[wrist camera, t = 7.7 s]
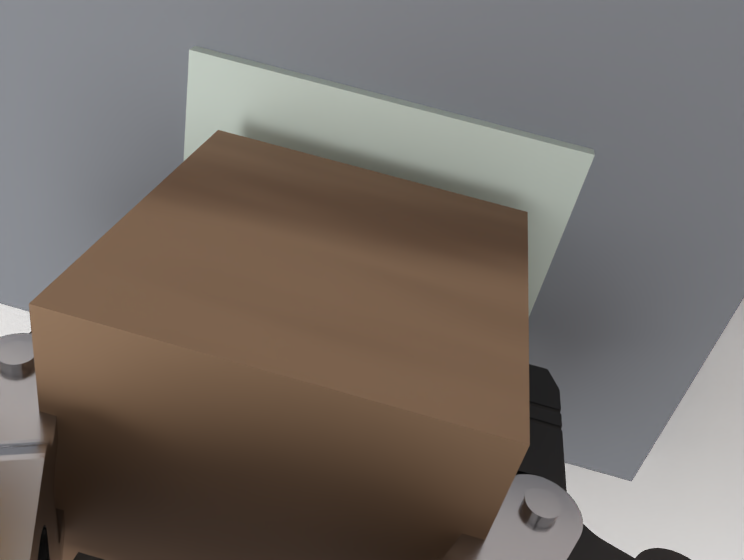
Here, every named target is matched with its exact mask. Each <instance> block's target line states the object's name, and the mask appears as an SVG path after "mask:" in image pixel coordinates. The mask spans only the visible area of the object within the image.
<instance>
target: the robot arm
mask: <svg viewBox="0 0 744 560" xmlns="http://www.w3.org/2000/svg"><path fill="white" fill-rule="evenodd" d="M560 411H561V402H560V389H559V388H558V386H557V384H556V382H555V381H554V379H553V377H552V375H551V374H550V372H549V370H548V369H545V368H542V367H538V366H535V365H531V364H529V415H530V446H529V448H528V450H527V452H526V454H525V456H524V458H523V461H522V463H521V465H520V467H519V469H518V471H517V473H516V475H515V478H514V480H513V482H512V484H511V486H510V488H509V490H508V493H507V495H506V497H505V499H504V501H503V503H502V505H501V507H500V510H499V512H498V514H497V516H496V518H495V520H494V522H493V525H492V527H491V529H490V531H489V533H488V535H487V537H486V540H483V539H480V538H476V537H473V536H469V535H466V534H461V536H460V537H459V538H458V539H457V541H456V542H455V543H454V544H453V546H452V547H451V548H450V550H449V551H448V552H447V553H446V555H445V556H444V557H443V558H442V559H441V558H440V557H438V556H437V557H435V558H434V559H433V560H691V559H689V558H688V557H686V556H684V555H682V554H680V553H677V552H674V551H672V550H668V549H662V548H652V549H648V550H645V551H643V552H641V553H640V554H639V555H638V556H637V557H636V558H633V557H631V556H630V555H628V554H626V553H624V552H623V551H621V550H619V549H618V548H616V547H614V546H612V545H611V544H609V543H607V542H605V541H604V540H602V539H601V538H599V537H598V536H596V535H595V534H594V533H593V532H591V531H590V530H589V529H588V528H587V527H586V526H585V525H584V524H583V519H582V515H581V512H580V510H579V508H578V506H577V504H576V503H575V501H574V500H573V499H572V497H571V496H570V495H569V494H568V493H567V491H566V478H565V463H564V448H563V432H562V430H561V428H562V417H561V414H560ZM57 448H58V427H57V416H54V415H51V414H48V413H44V412H41V411H39V405H38V395H37V385H36V374H35V364H34V353H33V343H32V332H30V333H20V334H11V335H6V336H2V337H0V560H62V557H63V547H64V537H65V519H64V510H61V509H57V508H55V497H54V477H55V464H56V456H57ZM73 560H104V559H101V558H97V557H94V556H91V555H87V554H84V553H81V552H78V553H77V555H76V556H75V558H74V559H73Z"/></svg>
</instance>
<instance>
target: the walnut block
mask: <svg viewBox="0 0 744 560" xmlns="http://www.w3.org/2000/svg"><path fill="white" fill-rule="evenodd" d="M29 311H30V322H31V332H32V343H33V353H34V364H35V374H36V385H37V395H38V405H39V411H41V412H44V413H48V414H51V415H54V416H57V427H58V448H57V456H56V464H55V477H54V497H55V508H57V509H61V510H64V519H65V537H64V547H63V557H62V560H73V559H74V558H75V556H76V555H77V553H78V552H81V553H84V554H87V555H91V556H94V557H97V558H101V559H104V560H433V559H434V558H435V557H437V556H438V557H440V558H441V559H442V558H443V557H444V556H445V555H446V553H447V552H448V551H449V550H450V548H451V547H452V546H453V544H454V543H455V542H456V541H457V539H458V538H459V537H460V536H461V534H466V535H469V536H473V537H476V538H480V539H483V540H486V537H487V535H488V533H489V531H490V529H491V527H492V525H493V522H494V520H495V518H496V516H497V514H498V512H499V510H500V507H501V505H502V503H503V501H504V499H505V497H506V495H507V493H508V490H509V488H510V486H511V484H512V482H513V480H514V478H515V475H516V473H517V471H518V469H519V467H520V465H521V463H522V461H523V458H524V456H525V454H526V452H527V450H528V448H529V446H530V415H529V307H528V212H526V211H522V210H518V209H514V208H511V207H507V206H503V205H499V204H496V203H492V202H488V201H484V200H481V199H477V198H473V197H469V196H466V195H462V194H458V193H454V192H451V191H447V190H443V189H439V188H435V187H432V186H428V185H424V184H420V183H417V182H413V181H409V180H405V179H402V178H398V177H394V176H390V175H387V174H383V173H379V172H375V171H371V170H368V169H364V168H360V167H356V166H353V165H349V164H345V163H341V162H338V161H334V160H330V159H326V158H323V157H319V156H315V155H311V154H307V153H304V152H300V151H296V150H292V149H289V148H285V147H281V146H277V145H274V144H270V143H266V142H262V141H259V140H255V139H251V138H247V137H243V136H240V135H236V134H232V133H228V132H225V131H221V130H217V131H216V132H215V133H214V134H213V135H212V136H211V137H210V138H209V139H208V140H206V141H205V142H204V143H203V144H202V145H201V146H200V147H199V148H198V149H197V150H196V151H194V152H193V153H192V154H191V155H190V156H189V157H188V158H187V159H186V160H185V161H184V162H183V163H181V164H180V165H179V166H178V167H177V168H176V169H175V170H174V171H173V172H172V173H171V174H169V175H168V176H167V177H166V178H165V179H164V180H163V181H162V182H161V183H160V184H159V185H157V186H156V187H155V188H154V189H153V190H152V191H151V192H150V193H149V194H148V195H147V196H145V197H144V198H143V199H142V200H141V201H140V202H139V203H138V204H137V205H136V206H135V207H134V208H132V209H131V210H130V211H129V212H128V213H127V214H126V215H125V216H124V217H123V218H122V219H120V220H119V221H118V222H117V223H116V224H115V225H114V226H113V227H112V228H111V229H110V230H108V231H107V232H106V233H105V234H104V235H103V236H102V237H101V238H100V239H99V240H98V241H97V242H95V243H94V244H93V245H92V246H91V247H90V248H89V249H88V250H87V251H86V252H85V253H83V254H82V255H81V256H80V257H79V258H78V259H77V260H76V261H75V262H74V263H73V264H71V265H70V266H69V267H68V268H67V269H66V270H65V271H64V272H63V273H62V274H61V275H59V276H58V277H57V278H56V279H55V280H54V281H53V282H52V283H51V284H50V285H49V286H48V287H46V288H45V289H44V290H43V291H42V292H41V293H40V294H39V295H38V296H37V297H36V298H34V299H33V300H32V301H31V302H30V303H29Z"/></svg>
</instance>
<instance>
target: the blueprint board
mask: <svg viewBox="0 0 744 560" xmlns="http://www.w3.org/2000/svg"><path fill="white" fill-rule="evenodd" d="M217 130H221V131H225V132H228V133H232V134H236V135H240V136H243V137H247V138H251V139H255V140H259V141H262V142H266V143H270V144H274V145H277V146H281V147H285V148H289V149H292V150H296V151H300V152H304V153H307V154H311V155H315V156H319V157H323V158H326V159H330V160H334V161H338V162H341V163H345V164H349V165H353V166H356V167H360V168H364V169H368V170H371V171H375V172H379V173H383V174H387V175H390V176H394V177H398V178H402V179H405V180H409V181H413V182H417V183H420V184H424V185H428V186H432V187H435V188H439V189H443V190H447V191H451V192H454V193H458V194H462V195H466V196H469V197H473V198H477V199H481V200H484V201H488V202H492V203H496V204H499V205H503V206H507V207H511V208H514V209H518V210H522V211H526V212H528V307H529V364H531V365H535V366H538V367H542V368H545V369H548V370H549V372H550V374H551V375H552V377H553V379H554V381H555V382H556V384H557V386H558V388H559V389H560V402H561V411H560V414H561V417H562V428H561V430H562V432H563V448H564V462H565V463H568V464H572V465H576V466H579V467H583V468H586V469H590V470H593V471H597V472H600V473H604V474H607V475H611V476H615V477H618V478H622V479H625V480H629V481H632V480H633V478H634V476H635V475H636V473H637V472H638V470H639V468H640V467H641V465H642V463H643V462H644V460H645V458H646V457H647V455H648V453H649V452H650V450H651V449H652V447H653V445H654V444H655V442H656V440H657V439H658V437H659V435H660V434H661V432H662V431H663V429H664V427H665V426H666V424H667V422H668V421H669V419H670V417H671V416H672V414H673V413H674V411H675V409H676V408H677V406H678V404H679V403H680V401H681V399H682V398H683V396H684V395H685V393H686V391H687V390H688V388H689V386H690V385H691V383H692V381H693V380H694V378H695V376H696V375H697V373H698V372H699V370H700V368H701V367H702V365H703V363H704V362H705V360H706V358H707V357H708V355H709V354H710V352H711V350H712V349H713V347H714V345H715V344H716V342H717V340H718V339H719V337H720V336H721V334H722V332H723V331H724V329H725V327H726V326H727V324H728V322H729V321H730V319H731V318H732V316H733V314H734V313H735V311H736V309H737V308H738V306H739V304H740V303H741V301H742V299H743V298H744V0H0V303H1V304H5V305H8V306H12V307H15V308H19V309H22V310H26V311H29V303H30V302H31V301H32V300H33V299H34V298H36V297H37V296H38V295H39V294H40V293H41V292H42V291H43V290H44V289H45V288H46V287H48V286H49V285H50V284H51V283H52V282H53V281H54V280H55V279H56V278H57V277H58V276H59V275H61V274H62V273H63V272H64V271H65V270H66V269H67V268H68V267H69V266H70V265H71V264H73V263H74V262H75V261H76V260H77V259H78V258H79V257H80V256H81V255H82V254H83V253H85V252H86V251H87V250H88V249H89V248H90V247H91V246H92V245H93V244H94V243H95V242H97V241H98V240H99V239H100V238H101V237H102V236H103V235H104V234H105V233H106V232H107V231H108V230H110V229H111V228H112V227H113V226H114V225H115V224H116V223H117V222H118V221H119V220H120V219H122V218H123V217H124V216H125V215H126V214H127V213H128V212H129V211H130V210H131V209H132V208H134V207H135V206H136V205H137V204H138V203H139V202H140V201H141V200H142V199H143V198H144V197H145V196H147V195H148V194H149V193H150V192H151V191H152V190H153V189H154V188H155V187H156V186H157V185H159V184H160V183H161V182H162V181H163V180H164V179H165V178H166V177H167V176H168V175H169V174H171V173H172V172H173V171H174V170H175V169H176V168H177V167H178V166H179V165H180V164H181V163H183V162H184V161H185V160H186V159H187V158H188V157H189V156H190V155H191V154H192V153H193V152H194V151H196V150H197V149H198V148H199V147H200V146H201V145H202V144H203V143H204V142H205V141H206V140H208V139H209V138H210V137H211V136H212V135H213V134H214V133H215V132H216V131H217ZM29 312H30V311H29Z"/></svg>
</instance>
